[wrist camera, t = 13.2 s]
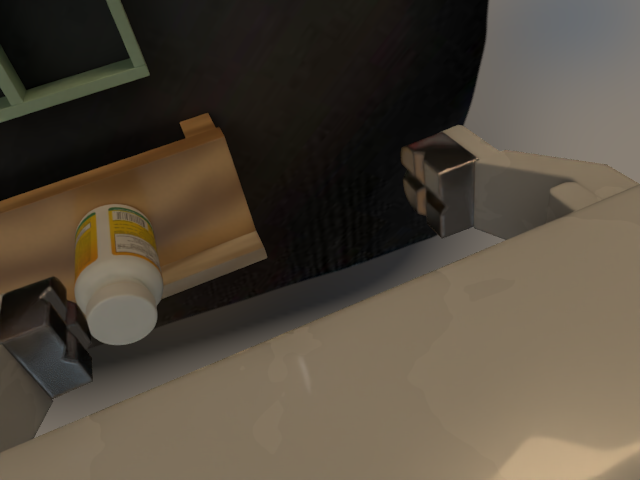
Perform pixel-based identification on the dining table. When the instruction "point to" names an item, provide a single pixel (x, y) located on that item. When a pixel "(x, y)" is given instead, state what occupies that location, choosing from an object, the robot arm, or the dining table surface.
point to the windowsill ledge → (149, 198)
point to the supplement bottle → (117, 273)
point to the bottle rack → (74, 86)
